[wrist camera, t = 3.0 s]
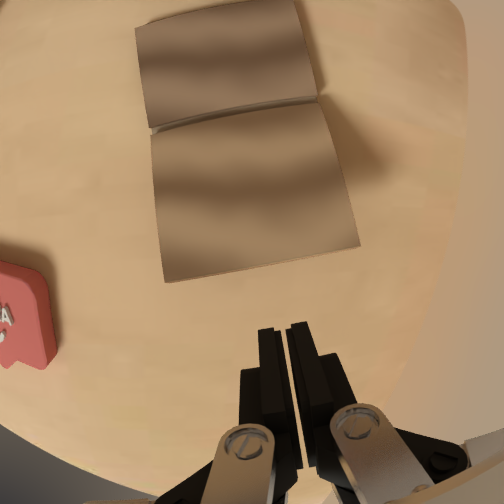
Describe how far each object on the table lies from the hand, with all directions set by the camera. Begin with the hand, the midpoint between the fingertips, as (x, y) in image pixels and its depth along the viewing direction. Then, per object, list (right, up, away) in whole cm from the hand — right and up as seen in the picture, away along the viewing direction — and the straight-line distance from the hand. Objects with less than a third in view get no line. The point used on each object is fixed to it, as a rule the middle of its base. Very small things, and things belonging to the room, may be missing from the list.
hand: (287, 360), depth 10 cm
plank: (-1, +9, +13) cm, 15 cm away
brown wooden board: (-4, +20, +12) cm, 24 cm away
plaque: (-33, -4, +19) cm, 39 cm away
